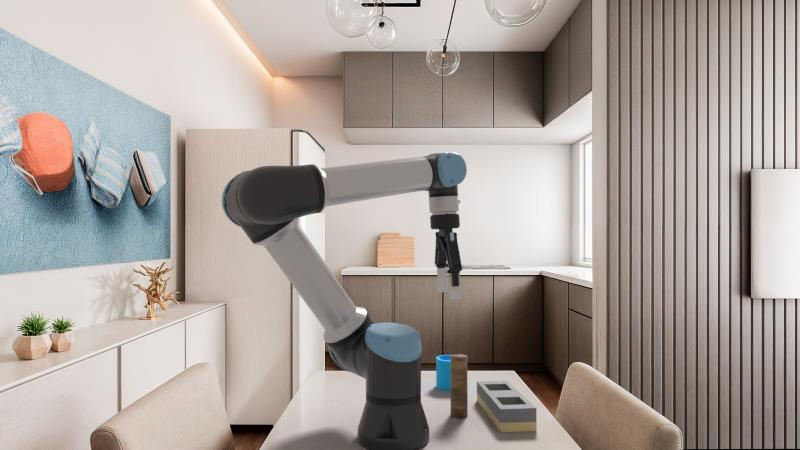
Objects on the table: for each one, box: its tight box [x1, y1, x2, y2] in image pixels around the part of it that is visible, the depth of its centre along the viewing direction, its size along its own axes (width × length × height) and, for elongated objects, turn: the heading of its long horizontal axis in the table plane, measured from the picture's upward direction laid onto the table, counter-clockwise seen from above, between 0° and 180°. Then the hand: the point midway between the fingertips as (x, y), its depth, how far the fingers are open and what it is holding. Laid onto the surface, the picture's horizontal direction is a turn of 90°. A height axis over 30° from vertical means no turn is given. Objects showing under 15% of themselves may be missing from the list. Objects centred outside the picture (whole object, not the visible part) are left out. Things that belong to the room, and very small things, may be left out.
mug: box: [435, 354, 452, 392], centre depth 152 cm, size 12×8×8 cm
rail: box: [476, 380, 538, 433], centre depth 126 cm, size 22×8×5 cm, turn 5°
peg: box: [450, 353, 469, 419], centre depth 126 cm, size 4×4×14 cm
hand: (449, 295), depth 137 cm, fingers open, 13 cm apart
